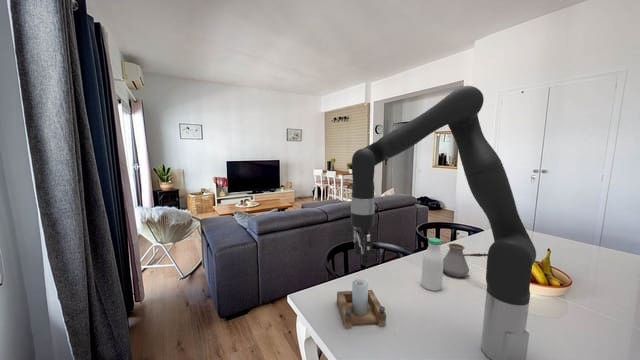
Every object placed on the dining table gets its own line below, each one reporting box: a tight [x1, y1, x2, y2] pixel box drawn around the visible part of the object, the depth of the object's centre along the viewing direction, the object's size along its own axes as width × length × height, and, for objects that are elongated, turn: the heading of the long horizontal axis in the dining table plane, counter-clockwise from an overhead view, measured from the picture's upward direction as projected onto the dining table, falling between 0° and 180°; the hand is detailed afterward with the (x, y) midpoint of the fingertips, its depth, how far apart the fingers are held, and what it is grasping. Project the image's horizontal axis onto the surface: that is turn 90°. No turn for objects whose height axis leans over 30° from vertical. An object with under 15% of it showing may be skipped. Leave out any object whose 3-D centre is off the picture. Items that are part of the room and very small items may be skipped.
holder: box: [336, 289, 387, 329], centre depth 87 cm, size 14×13×6 cm
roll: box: [351, 278, 369, 316], centre depth 86 cm, size 5×5×10 cm
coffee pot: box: [443, 243, 488, 278], centre depth 111 cm, size 21×12×15 cm, turn 22°
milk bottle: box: [420, 237, 444, 292], centre depth 104 cm, size 8×8×20 cm
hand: (361, 259), depth 85 cm, fingers open, 8 cm apart
